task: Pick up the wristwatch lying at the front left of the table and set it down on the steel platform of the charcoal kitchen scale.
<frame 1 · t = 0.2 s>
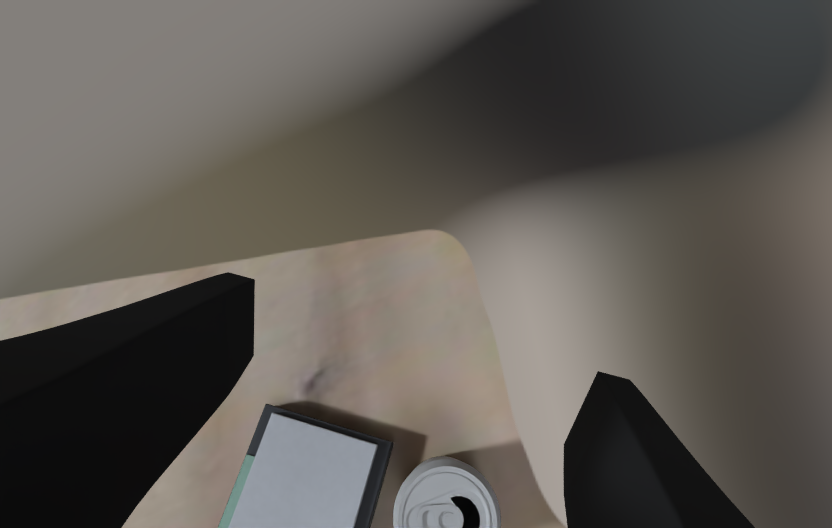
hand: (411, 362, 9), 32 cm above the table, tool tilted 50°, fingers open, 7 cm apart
beverage can: (442, 498, 37), on the table
scale: (303, 512, 37), on the table
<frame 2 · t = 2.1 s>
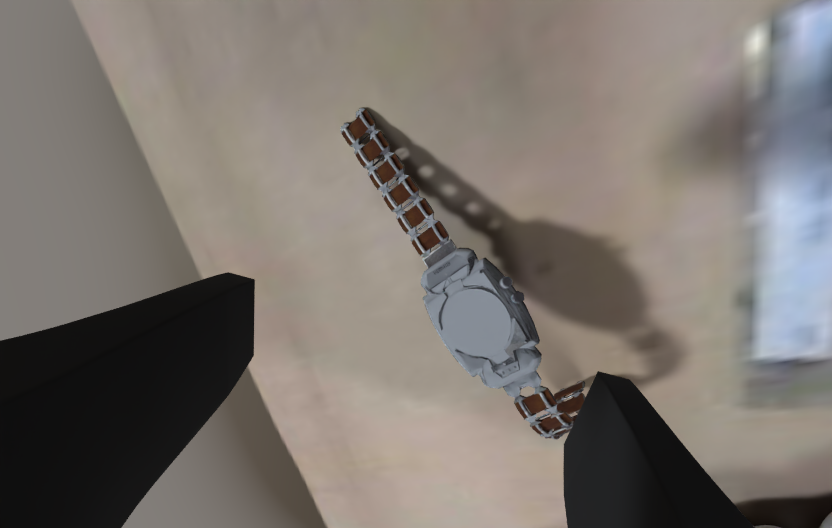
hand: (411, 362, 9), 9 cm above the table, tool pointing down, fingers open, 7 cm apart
wristwatch: (472, 257, 19), on the table
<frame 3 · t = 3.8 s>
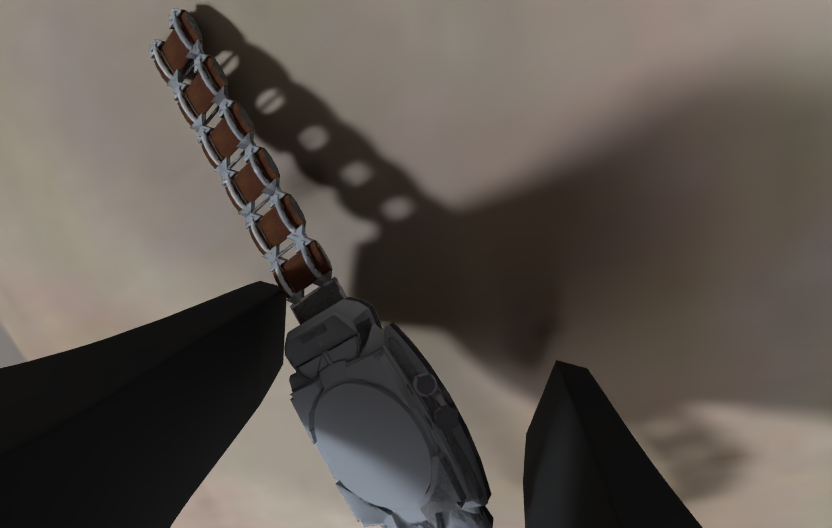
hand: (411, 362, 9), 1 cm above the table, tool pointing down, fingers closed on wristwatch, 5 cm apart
wristwatch: (402, 293, 11), on the table, touching gripper
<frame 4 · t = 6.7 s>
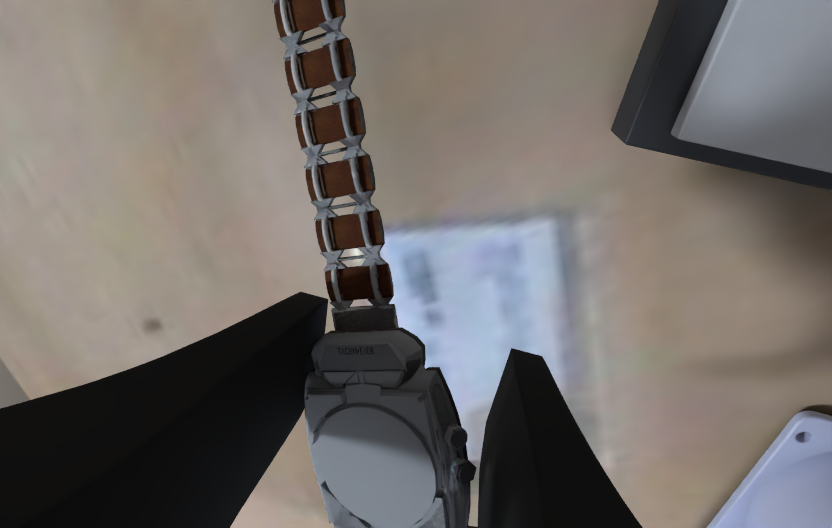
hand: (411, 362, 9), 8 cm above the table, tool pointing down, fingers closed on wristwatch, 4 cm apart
wristwatch: (421, 317, 11), point 7 cm above the table, touching gripper
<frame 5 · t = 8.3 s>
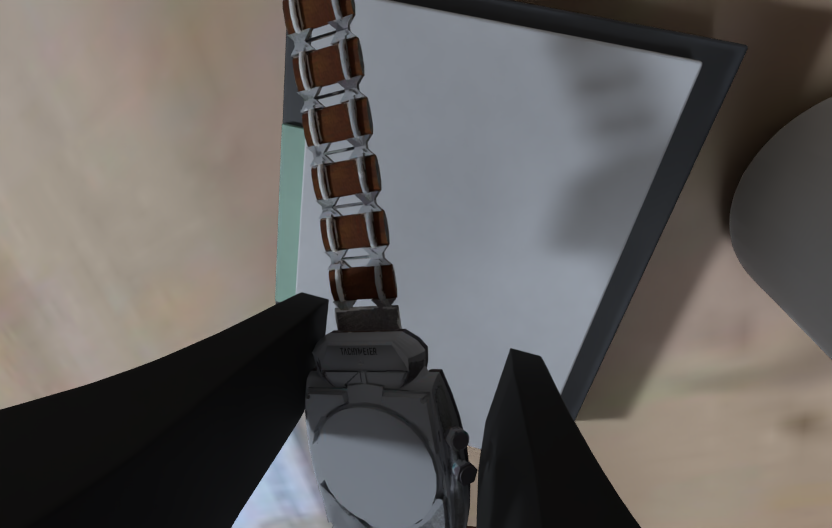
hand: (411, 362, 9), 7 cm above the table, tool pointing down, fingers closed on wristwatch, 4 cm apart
scale: (455, 234, 16), on the table
wristwatch: (422, 317, 11), point 6 cm above the table, touching gripper
when the fingers open (5 cm above the table, at t = 9.4 s): wristwatch stays where it is, resting on scale.
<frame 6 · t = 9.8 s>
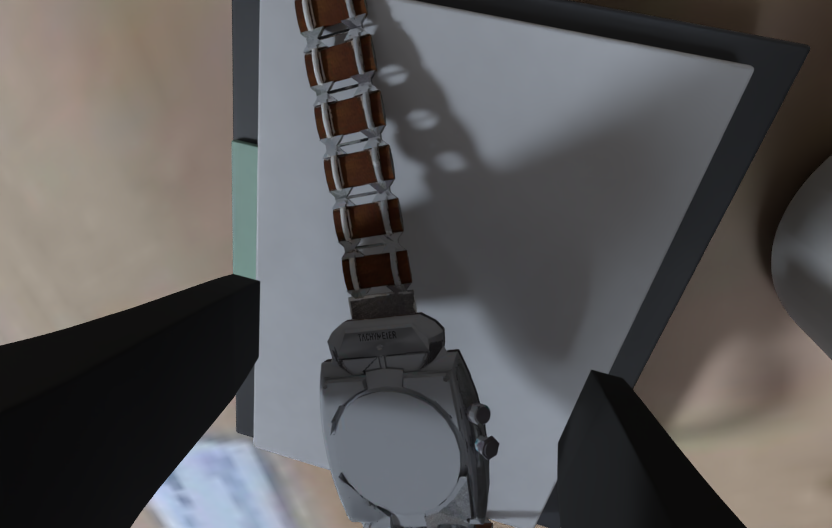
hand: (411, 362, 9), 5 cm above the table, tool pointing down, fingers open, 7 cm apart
scale: (444, 265, 14), on the table
wristwatch: (423, 310, 11), point 3 cm above the table, touching scale
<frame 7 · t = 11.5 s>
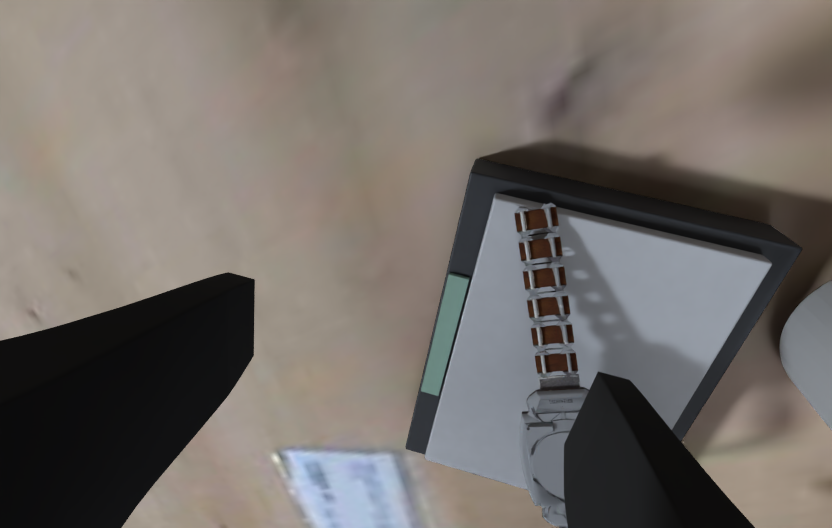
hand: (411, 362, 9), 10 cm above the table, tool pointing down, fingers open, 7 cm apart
scale: (559, 338, 20), on the table
wristwatch: (562, 375, 18), point 3 cm above the table, touching scale
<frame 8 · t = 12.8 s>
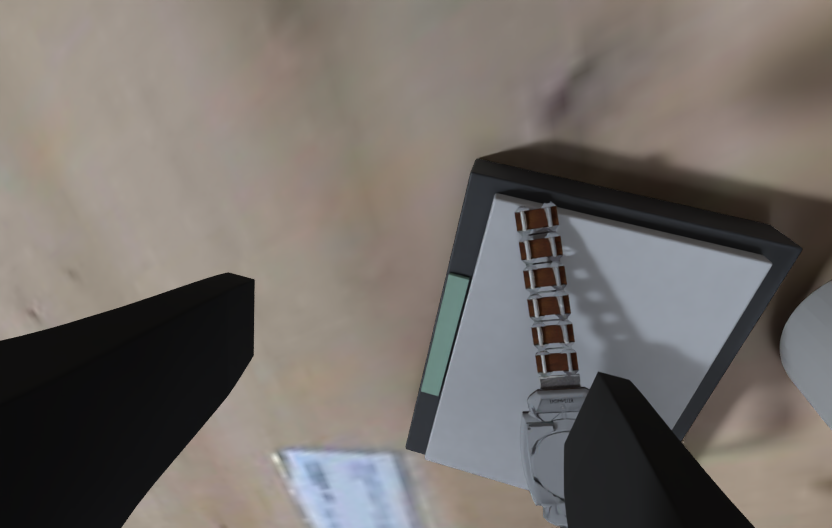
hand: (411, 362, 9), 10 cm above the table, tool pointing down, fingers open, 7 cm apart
scale: (559, 338, 20), on the table
wristwatch: (563, 375, 18), point 3 cm above the table, touching scale
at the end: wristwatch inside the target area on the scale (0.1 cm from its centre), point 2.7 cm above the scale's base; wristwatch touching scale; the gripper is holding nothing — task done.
